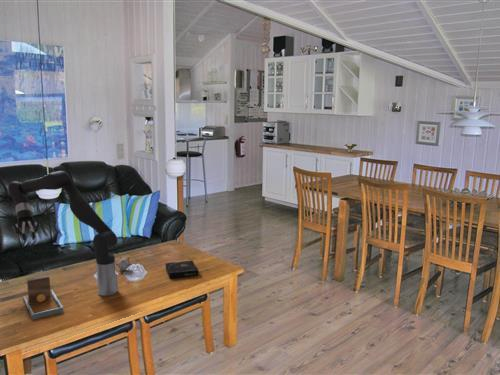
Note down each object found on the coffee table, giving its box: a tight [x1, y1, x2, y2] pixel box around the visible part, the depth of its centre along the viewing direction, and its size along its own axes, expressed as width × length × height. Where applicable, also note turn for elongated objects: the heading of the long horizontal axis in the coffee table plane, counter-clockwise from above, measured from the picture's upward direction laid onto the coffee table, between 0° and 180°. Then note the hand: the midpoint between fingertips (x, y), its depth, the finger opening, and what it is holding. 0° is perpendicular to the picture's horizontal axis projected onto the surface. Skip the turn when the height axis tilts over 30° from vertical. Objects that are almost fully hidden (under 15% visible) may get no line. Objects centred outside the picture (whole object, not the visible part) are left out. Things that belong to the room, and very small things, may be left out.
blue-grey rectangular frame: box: [28, 298, 64, 321], centre depth 214 cm, size 11×14×2 cm
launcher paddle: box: [26, 274, 52, 302], centre depth 226 cm, size 3×10×11 cm, turn 125°
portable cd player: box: [165, 260, 199, 280], centre depth 264 cm, size 16×17×4 cm
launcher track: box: [23, 289, 59, 312], centre depth 224 cm, size 16×14×2 cm
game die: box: [115, 256, 133, 271], centre depth 264 cm, size 9×8×10 cm
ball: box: [36, 294, 46, 303], centre depth 224 cm, size 4×4×4 cm
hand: (29, 239), depth 235 cm, fingers open, 3 cm apart
